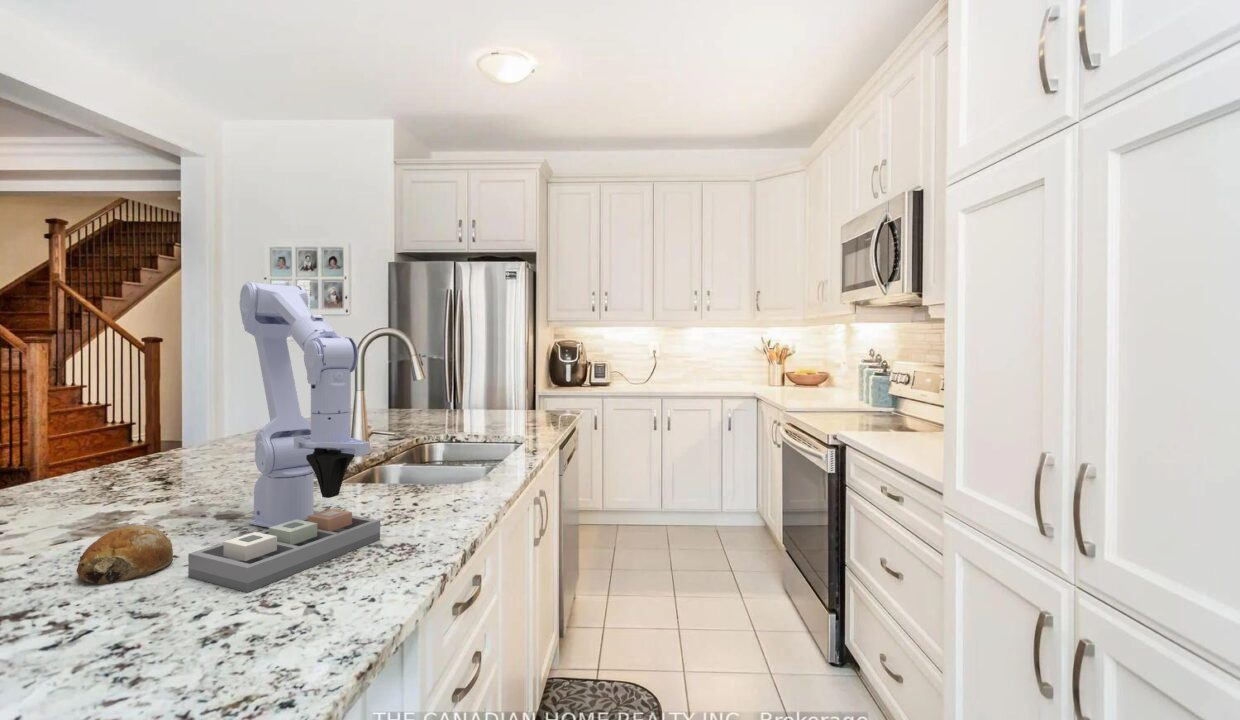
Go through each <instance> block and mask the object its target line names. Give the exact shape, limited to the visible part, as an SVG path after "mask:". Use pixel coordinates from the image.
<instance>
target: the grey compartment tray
mask: <svg viewBox="0 0 1240 720" xmlns="http://www.w3.org/2000/svg"><path fill="white" fill-rule="evenodd" d="M300 520H302V521H308V517H306V518H303V519H300ZM258 532H259V533H264V534H269V528H267V529H264V530H261V531H258ZM377 541H381V520H380V519H375V518H369V517H365V516H357V515H353V514H352V524H351V525H348V526H345V527H342V528H339V529H337V530H334V531H326V530H321V529H317V536H316V537H314V538H311V539H308V540H305V541H302V542H299V543H296V544H293V545H291V544H286V543H281V542H277V550H276V551H273V552H270V553H268V554H265V555H262V556H259V557H256V558H253V559H250V560H247V561H243V560H239V559H234V558H230V557H226V556H224V542H221V543H219V544H215V545H212V546H209V547H204V548H202V549H199V550H195V551H191V552H189V553H188V555H187V556H188V557H187V558H188V560H187V562H188V563H187V564H188V566H187V567H188V568H187V569H188V570H187V571H188V574H187V577H188V578H191V579H195V580H199V581H203V582H207V583H210V584H214V585H217V586H221V587H224V588H229V589H232V590H237V591H240V592H243V593H251V592H253V591H255V590H257V589H260V588H262V587H265V586H267V585H271V584H273V583H275V582H277V581H280V580H283V579H285V578H287V577H290V576H292V575H296V574H298V573H301V572H302V571H305V570H308V569H310V568H312V567H316V566H317V565H320V564H322V563H326V562H327V561H330V560H333V559H335V558H337V557H340V556H342V555H345V554H348V553H350V552H352V551H355V550H358V549H360V548H362V547H365V546H368V545H370V544H373V543H375V542H377Z"/></svg>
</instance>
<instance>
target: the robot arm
mask: <svg viewBox="0 0 1240 720" xmlns="http://www.w3.org/2000/svg"><path fill="white" fill-rule="evenodd" d="M239 310H240V311H239V312H240V316H241V321H242V325H243V328H244V331H245V332H247V333H248V334H250V335H251V336H252V337H253V336H254V341H255V345H256V349H257V354H258V358H259V365H260V366H259V367H260V370H261V377H262V382H263V383H262V384H263V387H264V393H265V397H266V404H267V411H268V415H269V422H268V423H267V424H266V425H264V426H262V427H261V428H260V429H259V430H258V432H257V433H256V435H255V438H254V446H255V447H254V448H255V449H254V460H255V465H256V468H257V470H258V471H259V472H260V473H261V474H260V476H259V477H258V479H257V480H256V482H255V484H254V486H253V487H254V488H253V519H251V520H249V522H248V524H249V525H253V526H258V527H263V528H267V529H269V528H270V527H273V526H276V525H280V524H283V523H286V522H289V521H293V520H296V519H297V520H300V519H303V518H306V517H308V516H309V515H313V514H314V505H315V503H314V495H315V494H314V491H315V490H314V487H315V486H314V481H315V480H314V475H315V477H316V479H317V484H318V486H319V487H318V488H319V490H320V493H321V496H322V498H323V499H324V498H325V499H330V498H334V497H337V496H339V495H340V492H341V488H342V485H343V481H344V477H345V474H346V472H347V470H348V467H350V464H351V462H353V461H352V460H353V459H354V458H355V457H362V456H366V455H370V446H371V445H370V441H365V440H360V439H357V438H353V437H351V422H352V420H351V419H352V416H351V415H352V413H351V407H352V404H351V402H352V400H351V399H352V397H351V395H352V392H351V391H352V386H351V385H352V384H351V383H352V373H353V372H354V371H355V370H356V368H357V366H358V362H359V350H358V346H357V343H356V342H355V340H354V339H353V337H351V336H340V335H339V334H338V333H337V332H336V330H334V328H333V327H332V326H331V325H330V324H329V323H328V322H327V320H325V318H324V317H323V315H322V314H318V313H317V314H316V313H312V312H311V310H310V308H309V296H308V292H307V291H306V289H305V288H304V287H303V286H302V285H296V286H295V285H283V284H274V283H273V284H272V283H262V282H253V281H246V282H245V283H244V284H243V286H242V287H241V290H240V295H239ZM289 337H292V338H293V341H295V343H296V344H297V345H298V347H299V348H300V349H301V351H302V352H303V353H304V354H303V361H304V367H305V370H306V381H307V383H308V384H310V420H309V419H308V418H305V416H302V413H301V408H300V403H299V396H298V392H297V387H296V381H295V378H294V377H295V376H294V371H293V366H292V360H291V357H290V351H289V346H288V338H289Z"/></svg>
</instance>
